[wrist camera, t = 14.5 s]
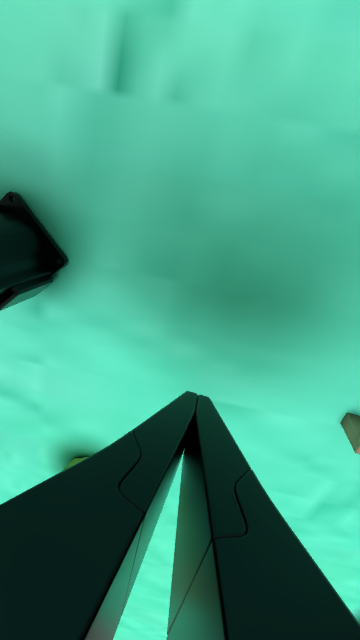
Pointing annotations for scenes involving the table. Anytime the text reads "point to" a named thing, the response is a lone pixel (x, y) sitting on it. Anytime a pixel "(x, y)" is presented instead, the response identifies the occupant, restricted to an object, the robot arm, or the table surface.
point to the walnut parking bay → (352, 430)
